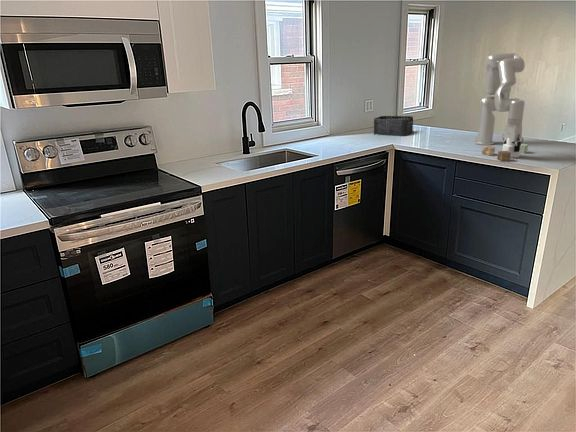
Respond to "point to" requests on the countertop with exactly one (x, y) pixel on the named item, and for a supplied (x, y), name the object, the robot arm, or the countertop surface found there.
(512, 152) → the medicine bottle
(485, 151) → the oak cube
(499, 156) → the walnut cube
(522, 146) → the sage cube
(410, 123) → the storage bin
